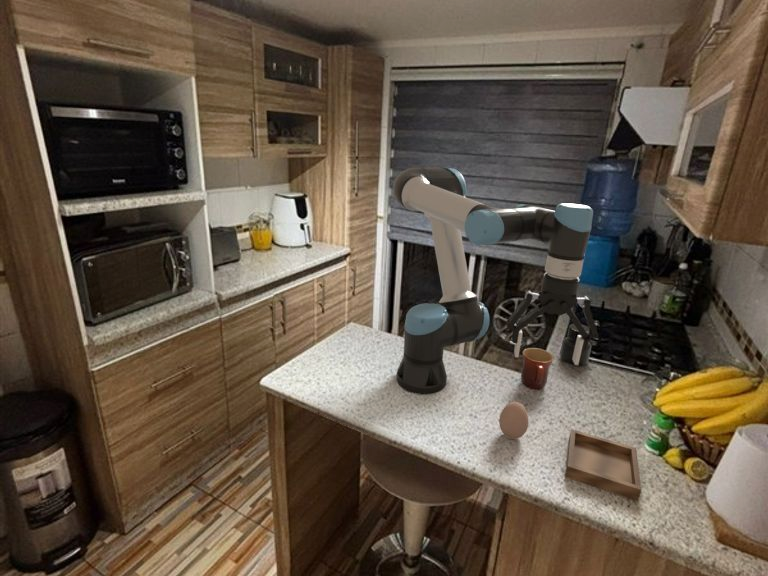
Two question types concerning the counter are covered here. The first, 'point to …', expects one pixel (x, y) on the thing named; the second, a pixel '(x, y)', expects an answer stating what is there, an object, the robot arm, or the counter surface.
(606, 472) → the tray
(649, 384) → the counter surface
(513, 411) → the egg
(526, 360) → the mug
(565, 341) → the ink bottle
